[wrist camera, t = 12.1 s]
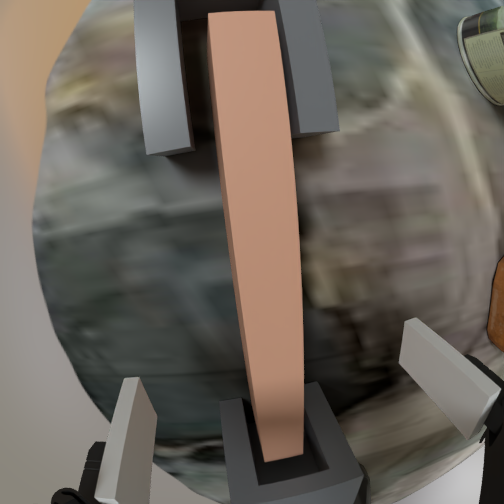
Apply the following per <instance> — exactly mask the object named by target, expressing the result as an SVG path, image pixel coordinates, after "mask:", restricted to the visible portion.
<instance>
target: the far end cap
mask: <svg viewBox="0 0 504 504" xmlns="http://www.w3.org/2000/svg"><path fill="white" fill-rule="evenodd" d="M219 404H220V414H221V424H222V433H223V443H224V452H225V460H226V468H227V476H228V484H229V492H230V499H231V504H353V503H354V501H355V498H356V496H357V493H358V490H359V488H360V485H361V482H362V479H363V476H364V474H363V472H362V470H361V468H360V466H359V464H358V462H357V460H356V458H355V456H354V454H353V452H352V450H351V448H350V446H349V444H348V442H347V440H346V438H345V436H344V434H343V432H342V430H341V428H340V426H339V424H338V422H337V420H336V418H335V416H334V414H333V412H332V410H331V408H330V406H329V404H328V402H327V400H326V398H325V396H324V394H323V392H322V390H321V388H320V386H319V384H318V382H317V381H316V382H312V383H308V384H304V433H303V454H302V455H297V456H293V457H289V458H284V459H279V460H274V461H269V462H264V457H263V453H262V449H261V444H260V440H259V436H258V431H257V427H256V423H250V424H247V420H246V415H245V411H244V407H243V402H242V398H236V399H230V400H223V401H219Z"/></svg>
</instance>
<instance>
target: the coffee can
mask: <svg viewBox="0 0 504 504" xmlns="http://www.w3.org/2000/svg"><path fill="white" fill-rule="evenodd" d="M457 39H458V46H459V50H460V53H461V57H462V59H463V62H464V64H465V67H466V69H467V71H468V73H469V75H470V77H471V79H472V81H473V82H474V83H475V85H476V87H477V88H478V90H479V91H480V92H481V93H482V94H483V95H484V97H486V98H487V99H488V100H489V101H490V102H492V103H493V104H496V105H504V6H501V7H498V8H494V9H491V10H488V11H485V12H481V13H478V14H475V15H473V16H468V17H464V18H463V19H461V21H460V22H459V25H458V29H457Z"/></svg>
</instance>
